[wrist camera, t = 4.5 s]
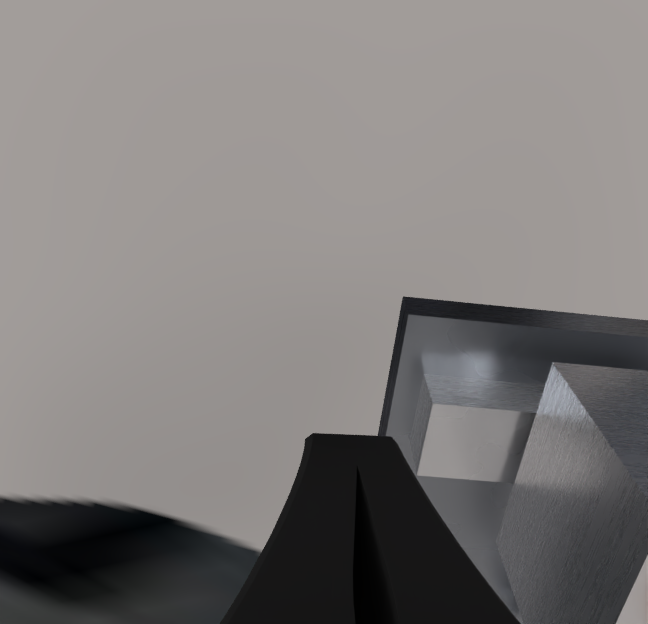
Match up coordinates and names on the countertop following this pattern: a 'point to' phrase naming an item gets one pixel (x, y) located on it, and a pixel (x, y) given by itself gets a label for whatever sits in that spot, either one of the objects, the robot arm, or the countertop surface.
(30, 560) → the countertop surface
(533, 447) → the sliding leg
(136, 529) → the countertop surface
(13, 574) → the countertop surface
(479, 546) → the aluminium mounting plate
